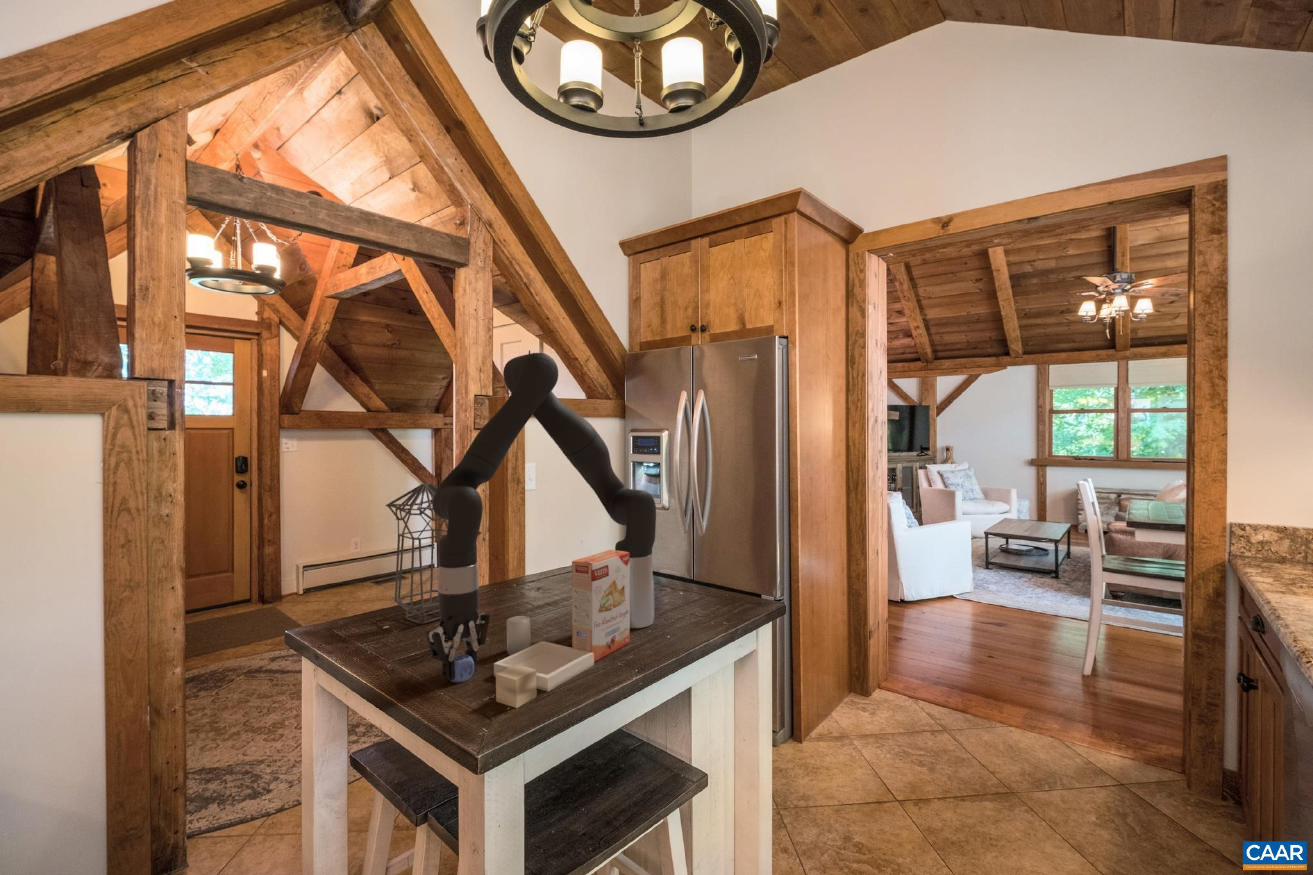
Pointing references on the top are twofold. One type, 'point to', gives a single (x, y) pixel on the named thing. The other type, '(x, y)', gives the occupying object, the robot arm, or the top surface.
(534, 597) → the top surface
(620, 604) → the cracker box
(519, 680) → the wooden block
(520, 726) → the top surface
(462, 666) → the decorative dice
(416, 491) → the geometric lantern
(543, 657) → the tray
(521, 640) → the grey rounded cylinder
